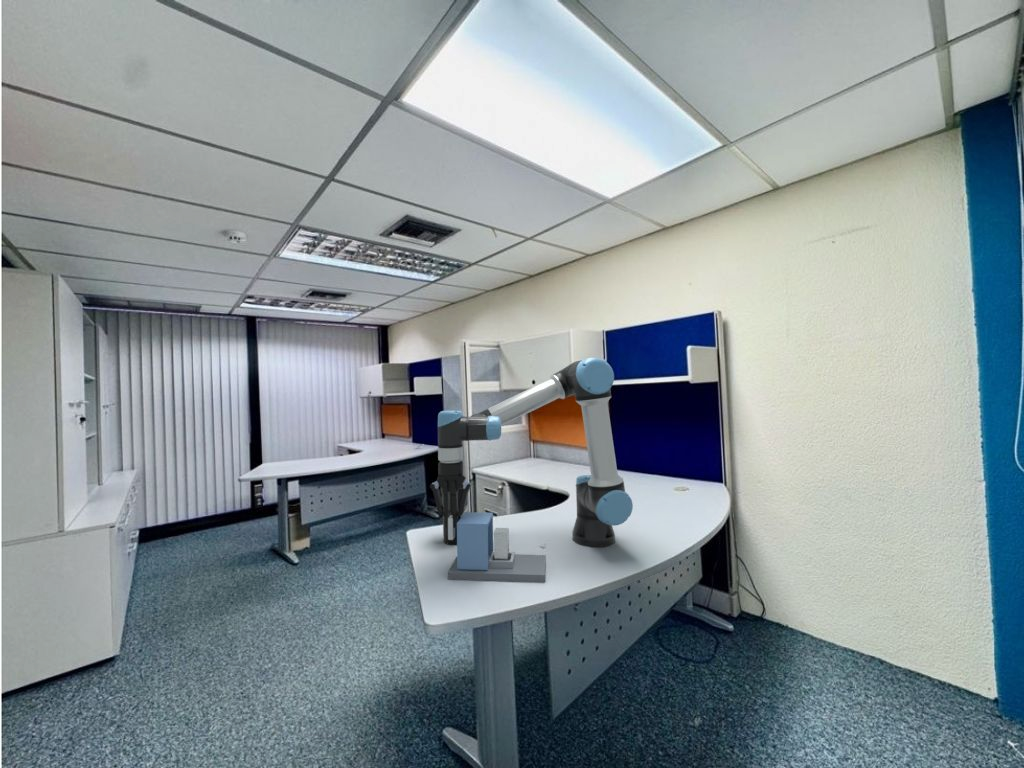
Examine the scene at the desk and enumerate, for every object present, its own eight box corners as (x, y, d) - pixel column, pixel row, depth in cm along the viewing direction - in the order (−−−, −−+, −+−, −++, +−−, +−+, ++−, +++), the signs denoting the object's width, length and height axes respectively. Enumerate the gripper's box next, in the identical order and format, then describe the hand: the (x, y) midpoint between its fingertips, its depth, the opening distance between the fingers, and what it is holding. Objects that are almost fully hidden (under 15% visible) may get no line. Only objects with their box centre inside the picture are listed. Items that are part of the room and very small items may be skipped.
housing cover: (493, 554, 126) (492, 512, 126) (487, 570, 115) (487, 524, 115) (465, 554, 127) (464, 512, 127) (457, 569, 116) (456, 523, 116)
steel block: (496, 560, 122) (495, 527, 122) (509, 560, 122) (508, 527, 122) (494, 566, 118) (493, 532, 118) (507, 566, 118) (507, 532, 118)
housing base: (545, 561, 126) (545, 548, 126) (545, 582, 112) (545, 567, 112) (458, 559, 128) (458, 546, 128) (447, 579, 114) (447, 565, 114)
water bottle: (464, 546, 139) (463, 480, 139) (436, 545, 141) (436, 479, 141) (473, 536, 149) (472, 474, 149) (447, 534, 151) (446, 474, 151)
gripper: (473, 458, 125) (474, 534, 125) (433, 458, 127) (434, 533, 126) (468, 462, 118) (470, 543, 117) (426, 462, 119) (427, 542, 119)
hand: (451, 538), depth 122 cm, fingers closed
